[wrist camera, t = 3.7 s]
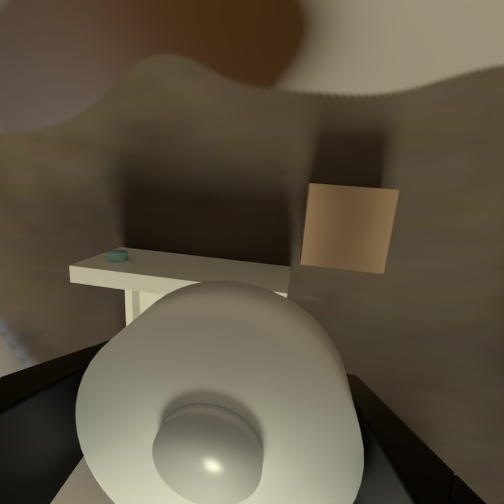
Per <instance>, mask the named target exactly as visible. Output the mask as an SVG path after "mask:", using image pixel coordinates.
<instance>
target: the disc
mask: <svg viewBox="0 0 504 504" xmlns="http://www.w3.org/2000/svg"><path fill="white" fill-rule="evenodd" d="M76 427H77V435H78V438H79V442H80V446H81V450H82V452H83V455H84V457H85V460H86V462H87V464H88V466H89V468H90V470H91V472H92V473H93V475H94V477H95V479H96V480H97V482H98V483H99V485H100V486H101V487H102V489H103V490H104V492H105V493H106V494H107V495H108V496H109V497H110V499H111V500H112V501H113V502H114V503H115V504H353V502H354V500H355V498H356V496H357V493H358V490H359V487H360V484H361V480H362V474H363V468H364V448H363V443H362V437H361V431H360V427H359V423H358V419H357V415H356V411H355V407H354V403H353V399H352V395H351V391H350V387H349V383H348V379H347V375H346V371H345V368H344V365H343V362H342V359H341V357H340V355H339V353H338V351H337V349H336V347H335V345H334V343H333V341H332V340H331V339H330V337H329V336H328V334H327V333H326V331H325V330H324V329H323V328H322V327H321V326H320V324H319V323H318V322H317V321H316V320H315V319H314V318H313V317H312V316H311V315H309V314H308V313H307V312H306V311H305V310H304V309H302V308H301V307H300V306H298V305H297V304H295V303H294V302H292V301H290V300H289V299H287V298H285V297H283V296H281V295H279V294H277V293H275V292H273V291H271V290H268V289H265V288H262V287H259V286H256V285H252V284H247V283H243V282H235V281H207V282H201V283H195V284H191V285H188V286H185V287H182V288H179V289H177V290H174V291H172V292H170V293H168V294H166V295H165V296H163V297H162V298H160V299H159V300H157V301H156V302H154V303H153V304H152V305H151V306H150V307H149V308H147V309H146V310H145V311H144V312H143V313H142V314H140V315H139V316H138V317H137V318H136V319H134V320H133V321H132V322H131V323H130V324H129V325H127V326H126V327H125V328H124V329H123V330H122V331H120V332H119V333H118V334H117V335H116V336H115V337H113V338H112V339H111V340H110V341H109V342H108V343H107V344H106V345H105V346H104V347H102V348H101V349H100V351H99V352H98V353H97V354H96V356H95V357H94V358H93V360H92V361H91V362H90V364H89V366H88V368H87V370H86V371H85V373H84V375H83V378H82V381H81V384H80V387H79V389H78V395H77V401H76Z"/></svg>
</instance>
